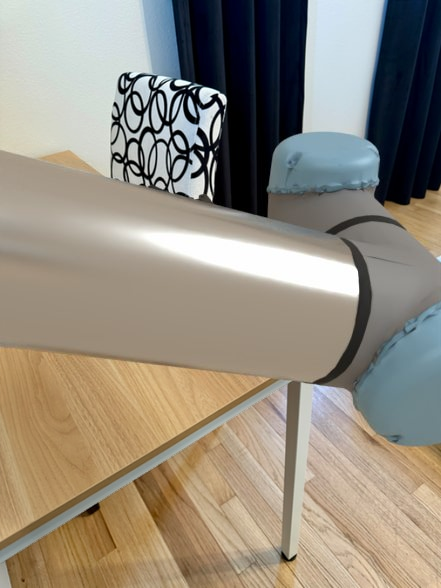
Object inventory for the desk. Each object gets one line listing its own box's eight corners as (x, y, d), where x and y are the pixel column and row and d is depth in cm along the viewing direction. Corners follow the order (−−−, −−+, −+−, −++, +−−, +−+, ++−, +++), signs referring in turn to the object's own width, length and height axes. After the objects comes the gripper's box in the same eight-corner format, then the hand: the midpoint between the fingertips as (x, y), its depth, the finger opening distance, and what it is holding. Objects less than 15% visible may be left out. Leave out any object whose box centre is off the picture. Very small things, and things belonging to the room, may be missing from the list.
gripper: (135, 363, 40) (29, 274, 52) (295, 255, 54) (182, 205, 66) (122, 300, 35) (8, 218, 47) (301, 200, 49) (178, 157, 61)
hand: (110, 210), depth 56 cm, fingers open, 13 cm apart
